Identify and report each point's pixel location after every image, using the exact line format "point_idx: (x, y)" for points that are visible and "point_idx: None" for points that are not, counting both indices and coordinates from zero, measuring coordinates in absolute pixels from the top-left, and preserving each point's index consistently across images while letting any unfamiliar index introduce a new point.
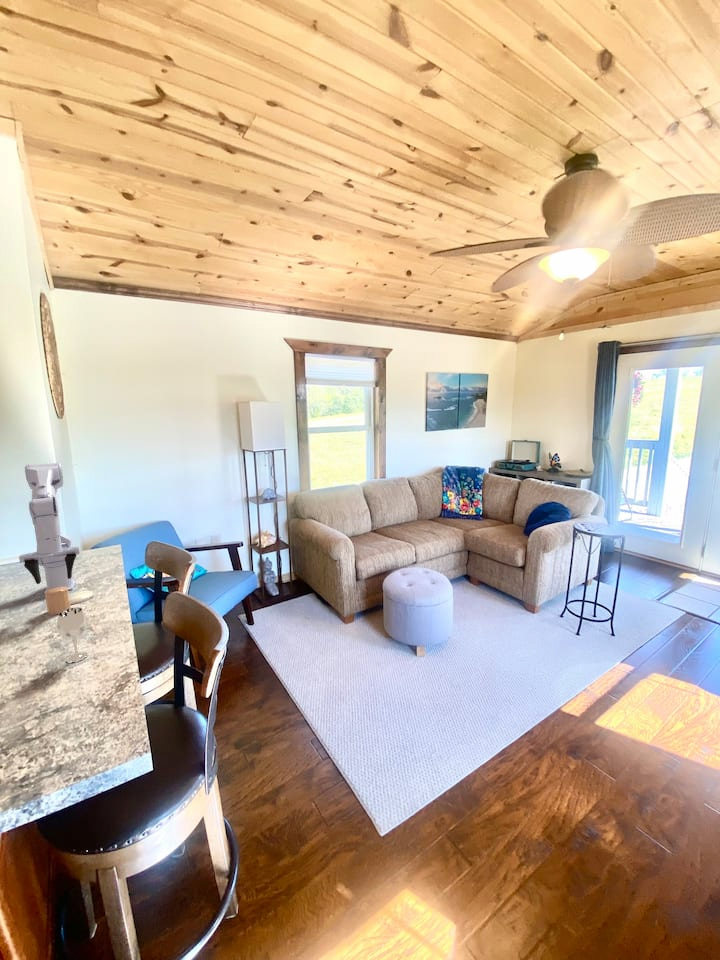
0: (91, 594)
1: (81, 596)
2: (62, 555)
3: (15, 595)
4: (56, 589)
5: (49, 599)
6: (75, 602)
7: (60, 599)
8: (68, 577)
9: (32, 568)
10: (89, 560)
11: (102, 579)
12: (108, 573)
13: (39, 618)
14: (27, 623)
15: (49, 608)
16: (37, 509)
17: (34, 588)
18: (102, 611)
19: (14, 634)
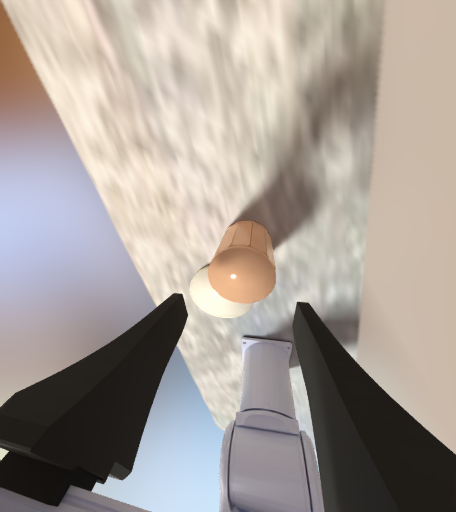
0: (190, 288)
1: (209, 289)
2: (97, 504)
3: None
4: (241, 284)
5: (260, 243)
6: None
7: (229, 239)
8: (175, 296)
9: (378, 426)
10: None
11: (199, 349)
12: (197, 365)
13: (288, 214)
14: (317, 192)
15: (263, 233)
16: None
17: None
18: (130, 174)
19: (357, 103)
